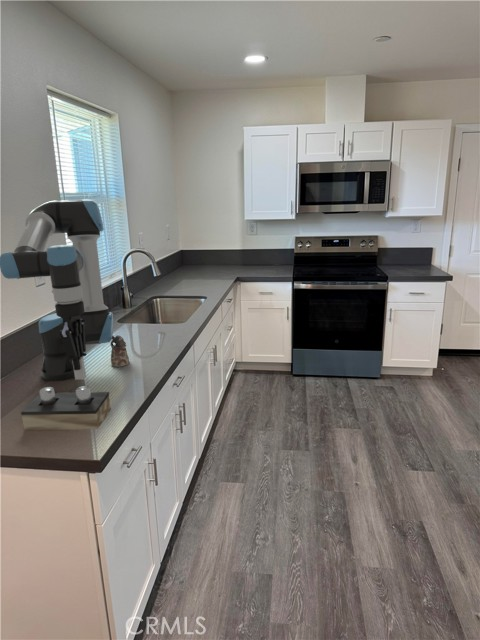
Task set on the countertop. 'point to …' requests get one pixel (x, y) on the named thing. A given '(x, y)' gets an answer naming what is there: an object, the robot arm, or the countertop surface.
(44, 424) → the block
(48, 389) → the steel peg
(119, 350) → the figurine
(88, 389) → the steel peg
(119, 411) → the countertop surface
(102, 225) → the robot arm
